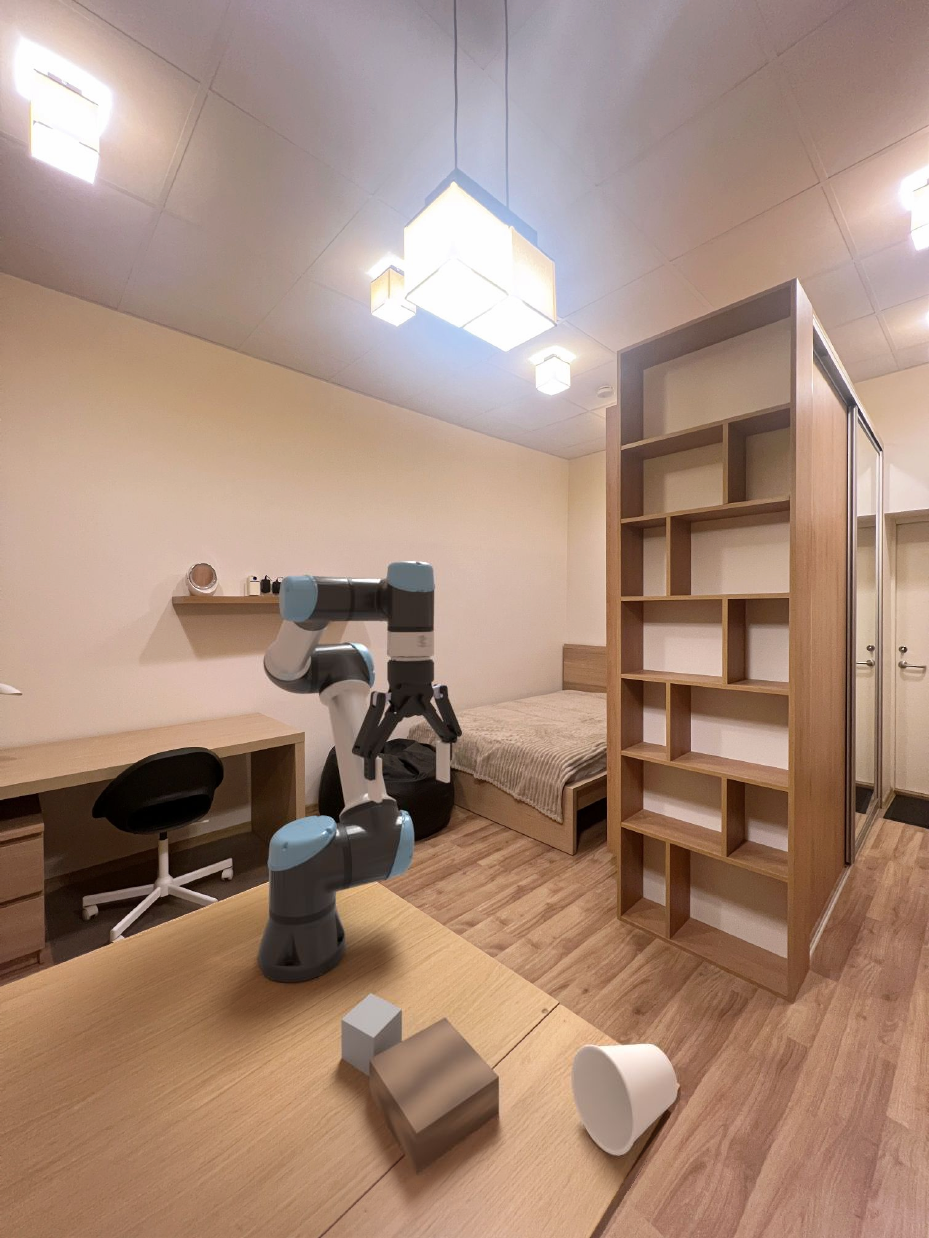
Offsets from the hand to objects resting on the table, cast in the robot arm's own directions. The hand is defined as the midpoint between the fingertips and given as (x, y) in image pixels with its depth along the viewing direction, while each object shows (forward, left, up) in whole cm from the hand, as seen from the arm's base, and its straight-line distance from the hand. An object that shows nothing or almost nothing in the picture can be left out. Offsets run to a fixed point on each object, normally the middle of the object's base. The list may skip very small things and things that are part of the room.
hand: (410, 790), depth 83 cm
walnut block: (+16, -8, -35) cm, 39 cm away
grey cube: (+4, -10, -35) cm, 36 cm away
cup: (+35, +14, -32) cm, 49 cm away
